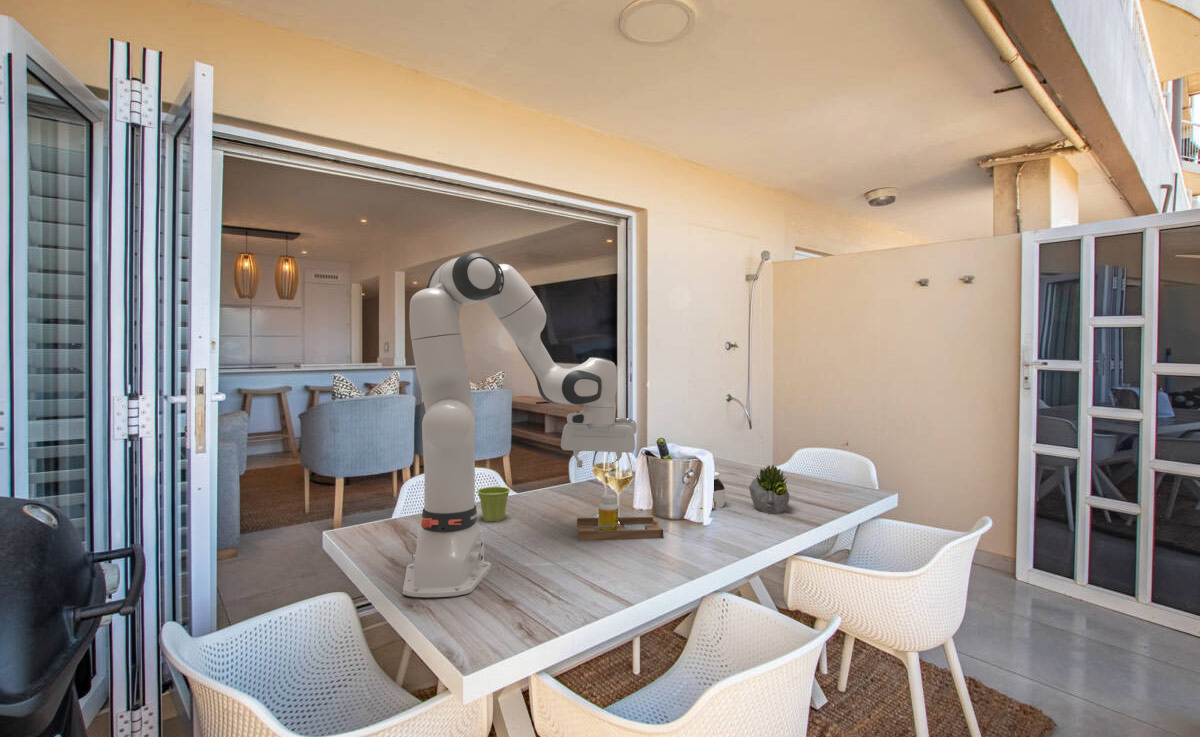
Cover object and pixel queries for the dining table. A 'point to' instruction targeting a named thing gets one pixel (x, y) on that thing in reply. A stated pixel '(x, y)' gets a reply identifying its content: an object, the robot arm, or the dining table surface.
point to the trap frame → (619, 529)
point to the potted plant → (769, 491)
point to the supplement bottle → (608, 513)
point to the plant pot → (493, 502)
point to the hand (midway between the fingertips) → (596, 467)
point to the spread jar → (718, 492)
